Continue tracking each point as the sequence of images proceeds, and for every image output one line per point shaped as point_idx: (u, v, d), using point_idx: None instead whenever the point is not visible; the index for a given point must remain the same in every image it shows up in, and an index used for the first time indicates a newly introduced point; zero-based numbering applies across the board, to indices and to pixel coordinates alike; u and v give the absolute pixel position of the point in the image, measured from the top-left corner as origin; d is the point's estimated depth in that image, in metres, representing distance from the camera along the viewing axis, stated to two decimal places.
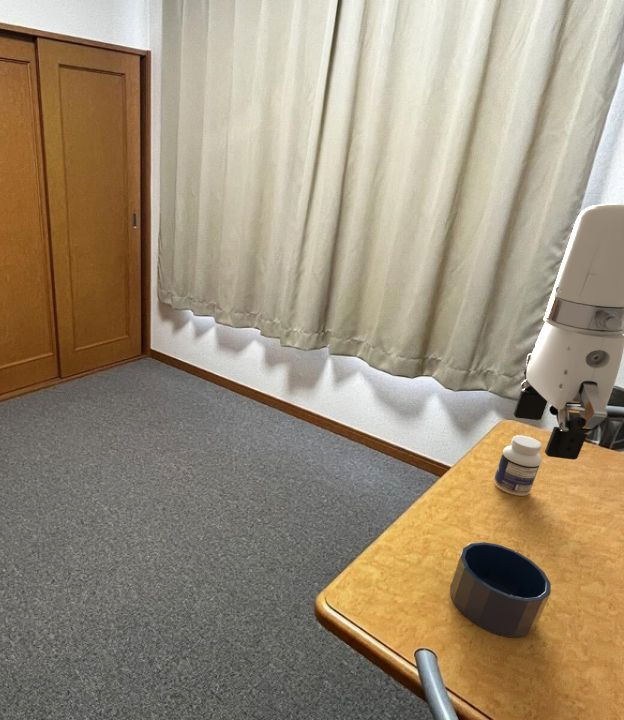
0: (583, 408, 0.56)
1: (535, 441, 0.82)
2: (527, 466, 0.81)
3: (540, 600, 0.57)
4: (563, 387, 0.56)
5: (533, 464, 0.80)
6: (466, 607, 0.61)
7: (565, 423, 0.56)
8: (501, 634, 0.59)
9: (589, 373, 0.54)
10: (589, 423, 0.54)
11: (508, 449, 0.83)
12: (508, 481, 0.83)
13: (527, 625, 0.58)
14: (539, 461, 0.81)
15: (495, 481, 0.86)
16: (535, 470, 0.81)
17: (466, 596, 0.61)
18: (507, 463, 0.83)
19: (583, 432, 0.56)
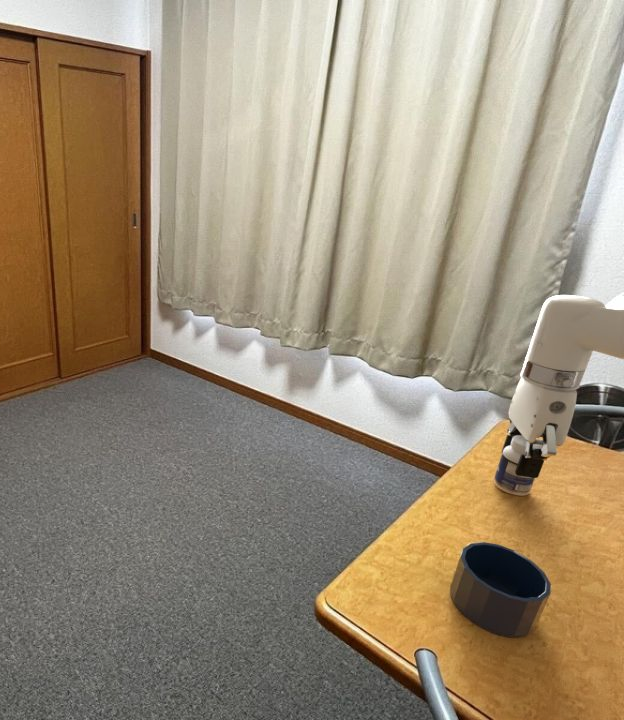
0: None
1: None
2: None
3: (540, 600, 0.57)
4: (533, 427, 0.76)
5: None
6: (466, 607, 0.61)
7: (528, 453, 0.78)
8: (501, 634, 0.59)
9: (551, 417, 0.75)
10: (543, 455, 0.76)
11: (508, 449, 0.83)
12: (508, 481, 0.83)
13: (527, 625, 0.58)
14: None
15: (495, 481, 0.86)
16: None
17: (466, 596, 0.61)
18: (506, 463, 0.83)
19: (540, 460, 0.78)
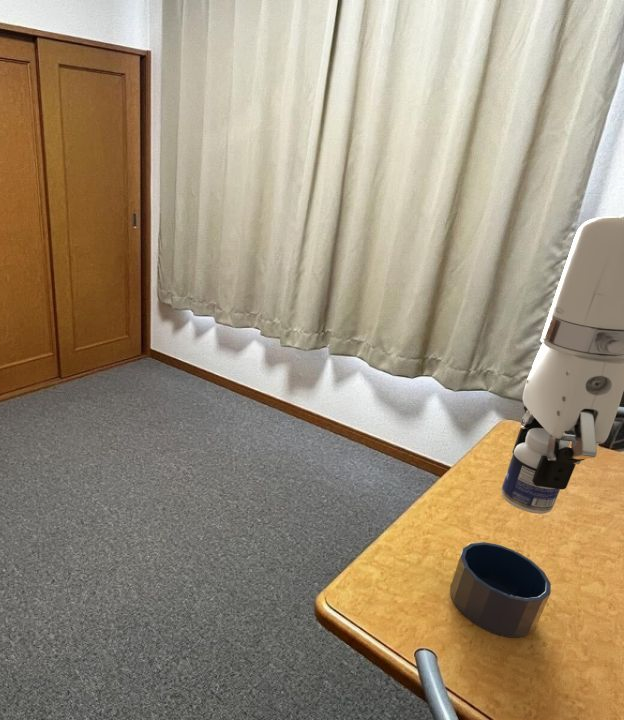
0: None
1: None
2: None
3: (540, 600, 0.57)
4: (561, 415, 0.52)
5: None
6: (466, 607, 0.61)
7: (553, 454, 0.54)
8: (501, 634, 0.59)
9: (589, 400, 0.50)
10: (576, 457, 0.51)
11: (521, 448, 0.59)
12: (522, 493, 0.59)
13: (527, 625, 0.58)
14: None
15: (503, 493, 0.61)
16: None
17: (466, 596, 0.61)
18: (519, 468, 0.58)
19: (570, 463, 0.53)
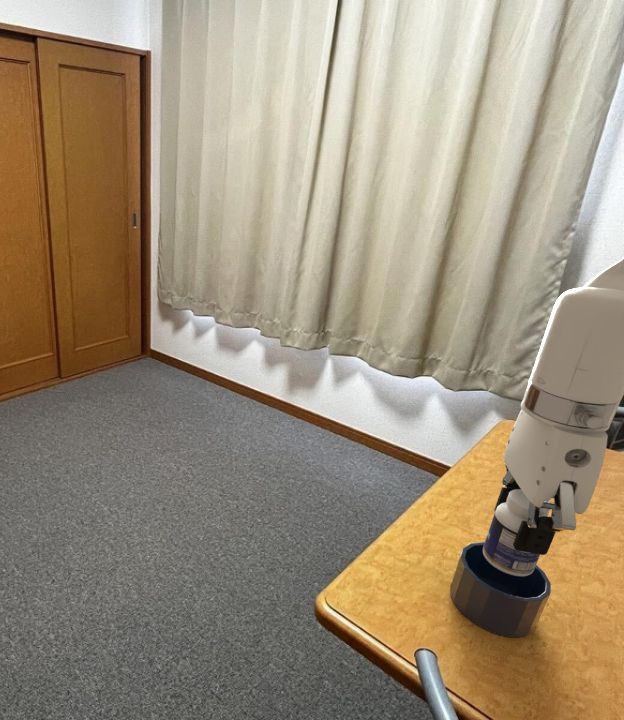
0: None
1: None
2: None
3: (540, 600, 0.57)
4: (540, 484, 0.51)
5: None
6: (466, 607, 0.61)
7: (533, 522, 0.53)
8: (501, 634, 0.59)
9: (568, 472, 0.49)
10: (556, 528, 0.51)
11: (503, 509, 0.58)
12: (503, 555, 0.58)
13: (527, 625, 0.58)
14: None
15: (484, 552, 0.61)
16: None
17: (466, 596, 0.61)
18: (500, 530, 0.58)
19: (550, 531, 0.53)
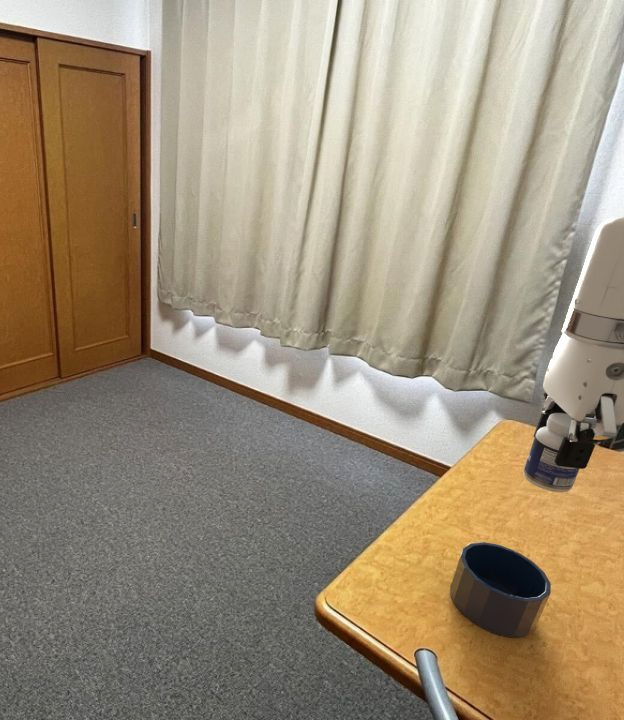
0: (596, 421, 0.58)
1: None
2: None
3: (540, 600, 0.57)
4: (582, 399, 0.56)
5: None
6: (466, 607, 0.61)
7: (575, 436, 0.58)
8: (501, 634, 0.59)
9: (609, 385, 0.55)
10: (597, 438, 0.56)
11: (543, 431, 0.63)
12: (544, 473, 0.63)
13: (527, 625, 0.58)
14: None
15: (525, 474, 0.66)
16: None
17: (466, 596, 0.61)
18: (542, 450, 0.63)
19: (590, 444, 0.58)
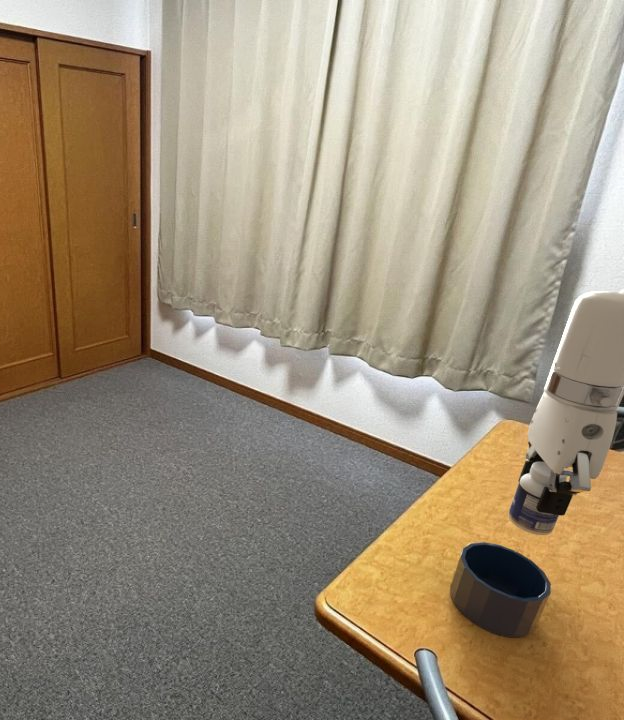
0: None
1: None
2: None
3: (540, 600, 0.57)
4: (561, 454, 0.62)
5: None
6: (466, 607, 0.61)
7: (554, 487, 0.64)
8: (501, 634, 0.59)
9: (585, 444, 0.60)
10: (574, 490, 0.61)
11: (526, 478, 0.69)
12: (526, 517, 0.69)
13: (527, 625, 0.58)
14: None
15: (510, 516, 0.71)
16: None
17: (466, 596, 0.61)
18: (525, 496, 0.68)
19: (568, 494, 0.63)
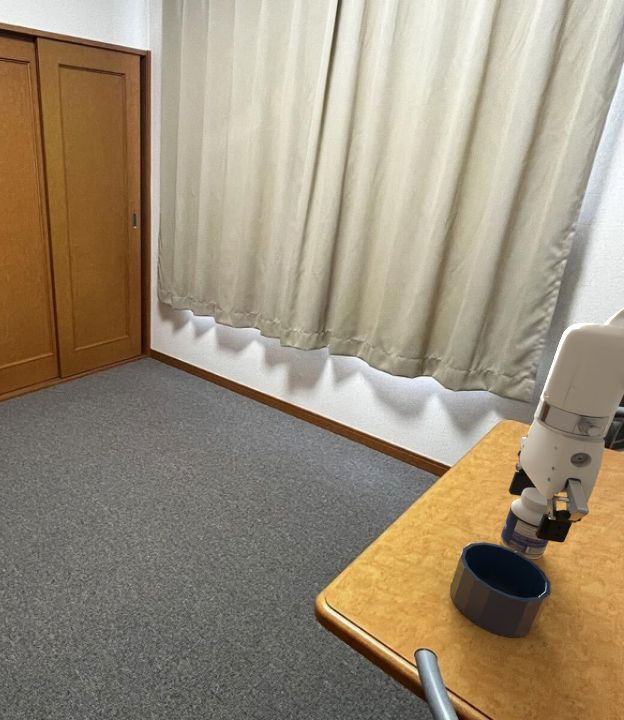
0: (569, 499, 0.63)
1: None
2: None
3: (540, 600, 0.57)
4: (551, 481, 0.63)
5: None
6: (466, 607, 0.61)
7: (553, 513, 0.63)
8: (501, 634, 0.59)
9: (573, 471, 0.61)
10: (573, 517, 0.61)
11: (517, 504, 0.71)
12: (517, 542, 0.70)
13: (527, 625, 0.58)
14: None
15: (502, 540, 0.73)
16: None
17: (466, 596, 0.61)
18: (515, 521, 0.70)
19: (569, 521, 0.63)
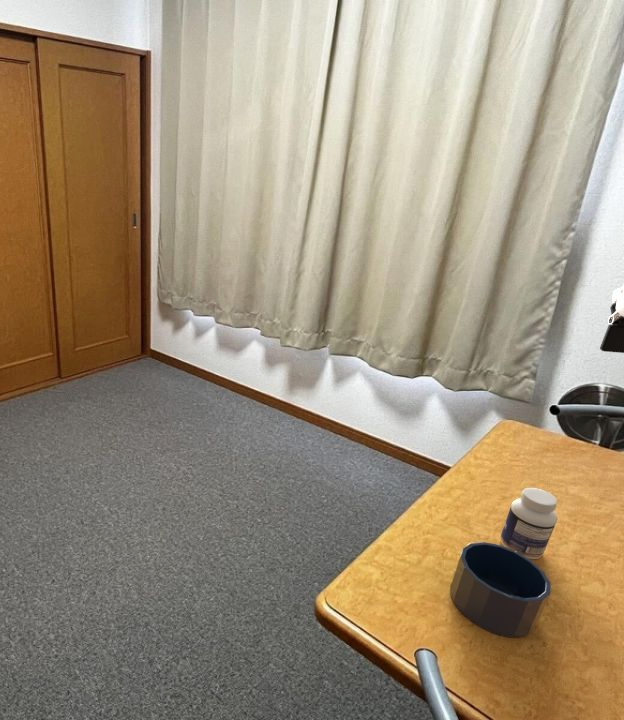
0: None
1: (549, 495, 0.69)
2: (541, 526, 0.68)
3: (540, 600, 0.57)
4: None
5: (548, 524, 0.68)
6: (466, 607, 0.61)
7: None
8: (501, 634, 0.59)
9: None
10: None
11: (517, 504, 0.71)
12: (517, 542, 0.70)
13: (527, 625, 0.58)
14: (555, 520, 0.68)
15: (502, 540, 0.73)
16: (550, 531, 0.68)
17: (466, 596, 0.61)
18: (516, 521, 0.70)
19: None
